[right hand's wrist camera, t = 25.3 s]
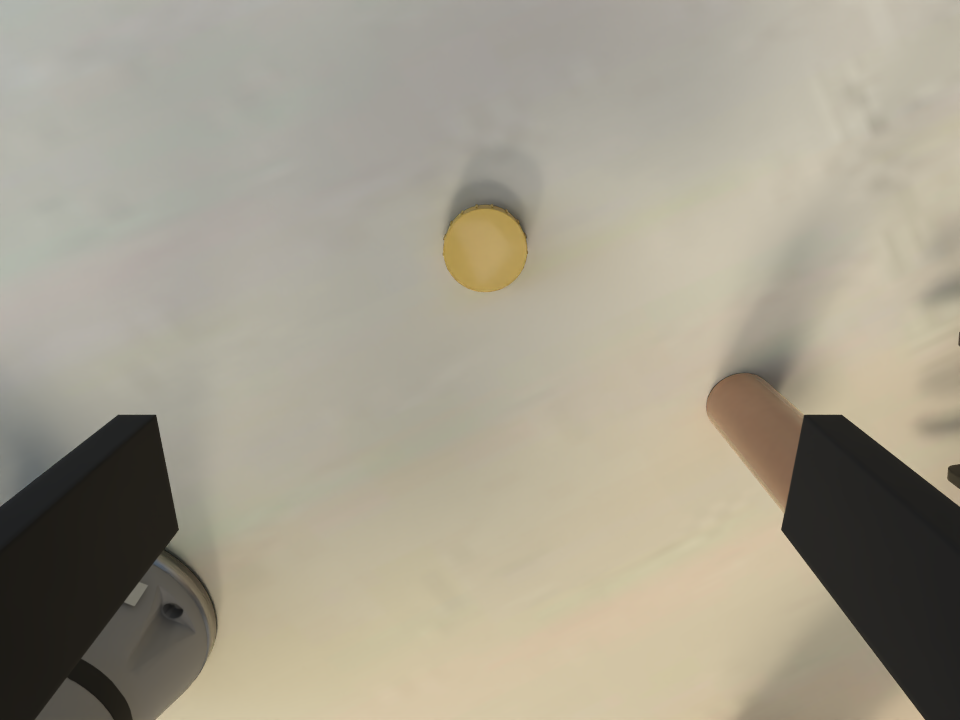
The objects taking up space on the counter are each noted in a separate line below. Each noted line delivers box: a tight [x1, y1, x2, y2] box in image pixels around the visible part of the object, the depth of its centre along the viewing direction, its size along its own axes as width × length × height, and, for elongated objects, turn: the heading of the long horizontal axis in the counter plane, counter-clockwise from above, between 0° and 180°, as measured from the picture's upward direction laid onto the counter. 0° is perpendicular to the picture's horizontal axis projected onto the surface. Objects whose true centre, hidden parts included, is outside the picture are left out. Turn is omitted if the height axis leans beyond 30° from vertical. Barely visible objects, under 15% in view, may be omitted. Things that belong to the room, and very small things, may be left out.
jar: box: [707, 373, 804, 513], centre depth 34 cm, size 4×4×16 cm
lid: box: [443, 204, 528, 292], centre depth 36 cm, size 5×5×2 cm
